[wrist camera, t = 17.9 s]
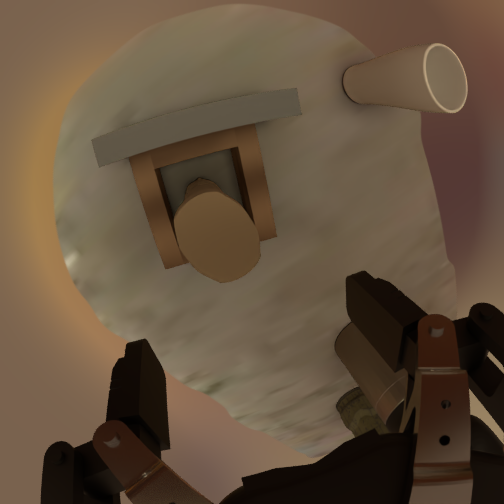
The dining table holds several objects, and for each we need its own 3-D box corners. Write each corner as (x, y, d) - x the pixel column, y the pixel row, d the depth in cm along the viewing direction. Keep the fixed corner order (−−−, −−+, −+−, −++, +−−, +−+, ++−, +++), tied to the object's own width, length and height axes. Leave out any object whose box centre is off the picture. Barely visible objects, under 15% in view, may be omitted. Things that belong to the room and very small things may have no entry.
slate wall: (270, 117, 31) (301, 114, 23) (119, 156, 28) (99, 167, 20) (266, 97, 30) (296, 87, 22) (114, 136, 27) (91, 139, 19)
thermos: (361, 377, 54) (450, 507, 23) (376, 394, 60) (451, 503, 28) (326, 402, 55) (402, 537, 24) (346, 416, 60) (412, 529, 29)
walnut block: (263, 222, 36) (276, 236, 31) (166, 250, 34) (165, 269, 30) (243, 122, 30) (254, 121, 26) (135, 151, 29) (128, 155, 24)
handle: (198, 225, 34) (215, 294, 21) (166, 180, 31) (158, 222, 18) (233, 202, 34) (274, 255, 20) (203, 155, 31) (224, 177, 17)
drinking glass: (384, 106, 33) (473, 111, 20) (342, 113, 32) (431, 117, 19) (372, 58, 30) (460, 45, 17) (329, 62, 29) (414, 39, 16)
